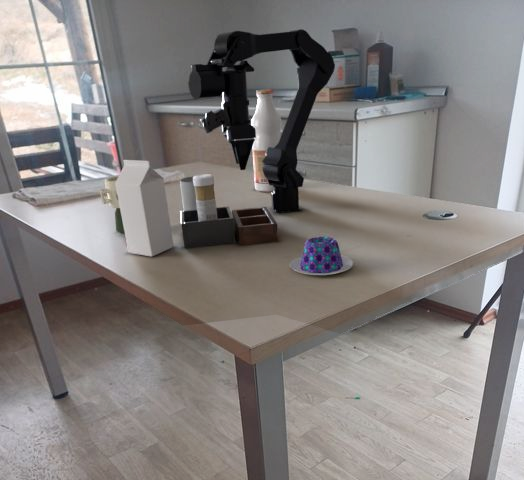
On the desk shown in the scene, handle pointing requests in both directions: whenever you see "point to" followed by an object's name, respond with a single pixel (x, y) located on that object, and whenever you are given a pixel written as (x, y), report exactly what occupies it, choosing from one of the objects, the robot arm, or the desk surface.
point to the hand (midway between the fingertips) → (240, 166)
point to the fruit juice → (264, 135)
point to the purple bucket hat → (321, 258)
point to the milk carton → (144, 209)
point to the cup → (188, 193)
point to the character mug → (113, 201)
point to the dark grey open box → (207, 228)
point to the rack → (255, 226)
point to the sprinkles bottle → (205, 197)
